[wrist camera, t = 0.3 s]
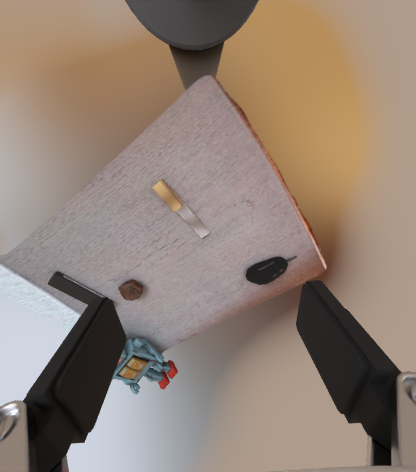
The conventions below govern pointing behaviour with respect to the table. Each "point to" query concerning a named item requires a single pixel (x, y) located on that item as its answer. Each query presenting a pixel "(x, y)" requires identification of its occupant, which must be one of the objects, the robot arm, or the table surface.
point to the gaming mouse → (267, 270)
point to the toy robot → (143, 365)
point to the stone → (130, 290)
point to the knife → (180, 207)
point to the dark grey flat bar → (72, 288)
